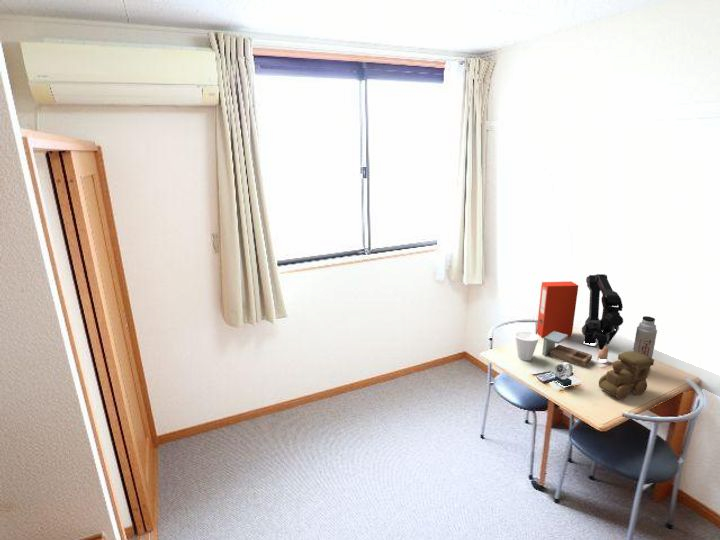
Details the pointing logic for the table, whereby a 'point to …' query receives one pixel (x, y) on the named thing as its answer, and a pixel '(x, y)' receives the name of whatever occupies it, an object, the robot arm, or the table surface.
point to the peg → (603, 353)
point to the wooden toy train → (627, 375)
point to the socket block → (571, 355)
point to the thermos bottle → (645, 337)
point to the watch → (561, 370)
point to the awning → (552, 341)
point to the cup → (526, 344)
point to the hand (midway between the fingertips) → (604, 346)
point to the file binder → (557, 308)
